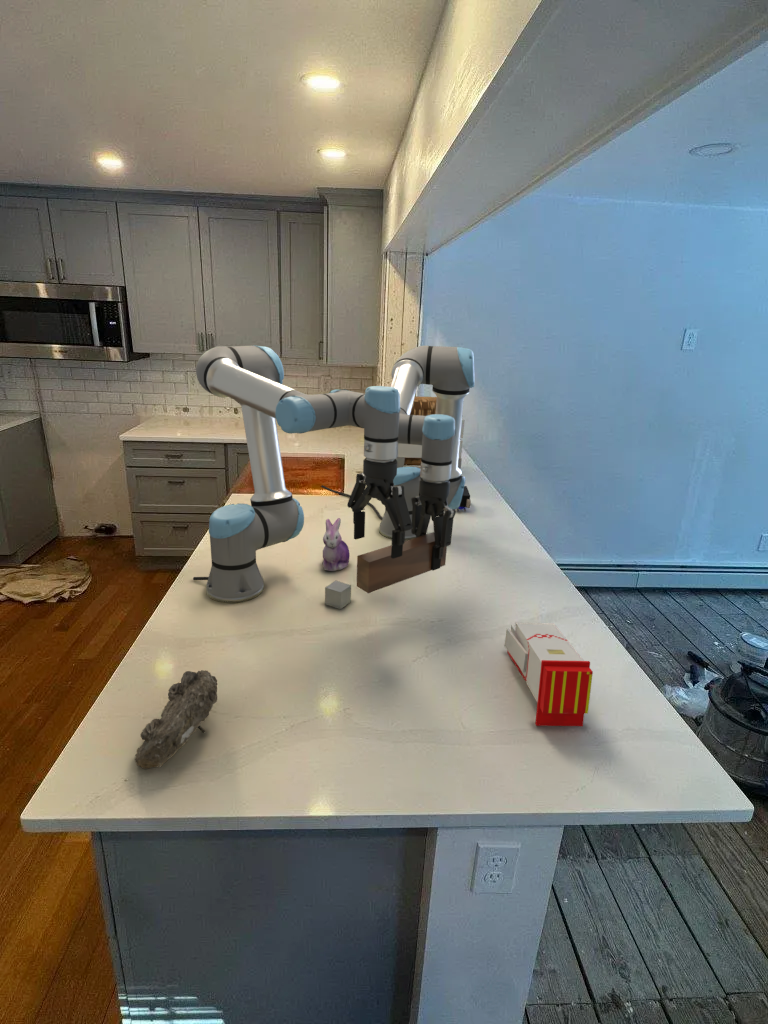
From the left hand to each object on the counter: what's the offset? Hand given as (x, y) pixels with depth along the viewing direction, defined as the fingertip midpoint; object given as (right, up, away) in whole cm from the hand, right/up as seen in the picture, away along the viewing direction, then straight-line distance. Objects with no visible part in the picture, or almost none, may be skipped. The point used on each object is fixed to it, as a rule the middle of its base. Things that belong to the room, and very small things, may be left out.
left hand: (377, 547), depth 132 cm
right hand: (+13, -6, +15) cm, 20 cm away
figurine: (-13, -8, +41) cm, 44 cm away
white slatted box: (+19, +27, +143) cm, 147 cm away
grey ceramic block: (-11, -16, +20) cm, 28 cm away
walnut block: (+6, -8, +9) cm, 14 cm away
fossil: (-35, -32, -28) cm, 55 cm away
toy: (+35, -29, -10) cm, 46 cm away
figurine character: (+32, +10, +97) cm, 103 cm away
